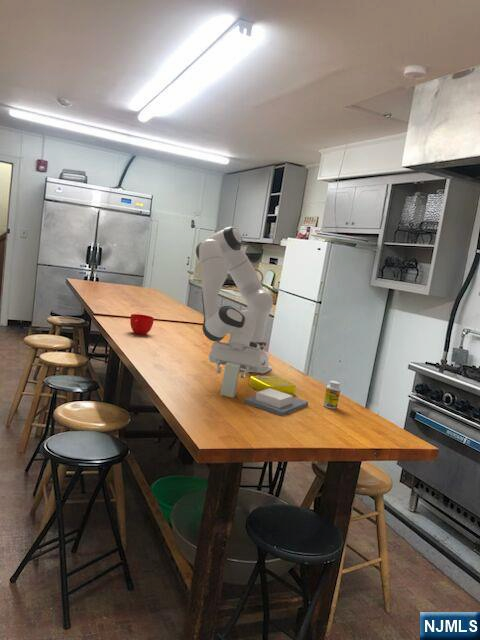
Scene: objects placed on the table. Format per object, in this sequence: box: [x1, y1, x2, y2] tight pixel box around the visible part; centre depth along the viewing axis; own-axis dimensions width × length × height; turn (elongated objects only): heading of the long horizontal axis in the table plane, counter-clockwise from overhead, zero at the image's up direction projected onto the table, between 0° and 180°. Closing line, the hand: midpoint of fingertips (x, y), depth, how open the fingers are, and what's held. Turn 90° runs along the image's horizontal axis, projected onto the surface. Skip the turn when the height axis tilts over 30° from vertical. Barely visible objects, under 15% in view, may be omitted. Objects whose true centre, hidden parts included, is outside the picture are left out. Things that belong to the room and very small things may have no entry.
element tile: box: [248, 375, 297, 396], centre depth 208 cm, size 15×15×5 cm
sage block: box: [220, 362, 241, 398], centre depth 189 cm, size 5×5×12 cm
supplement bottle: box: [322, 380, 341, 409], centre depth 196 cm, size 6×6×10 cm
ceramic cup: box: [129, 313, 155, 336], centre depth 279 cm, size 13×17×10 cm
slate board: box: [243, 388, 309, 417], centre depth 188 cm, size 22×16×4 cm
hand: (230, 374), depth 189 cm, fingers open, 8 cm apart
